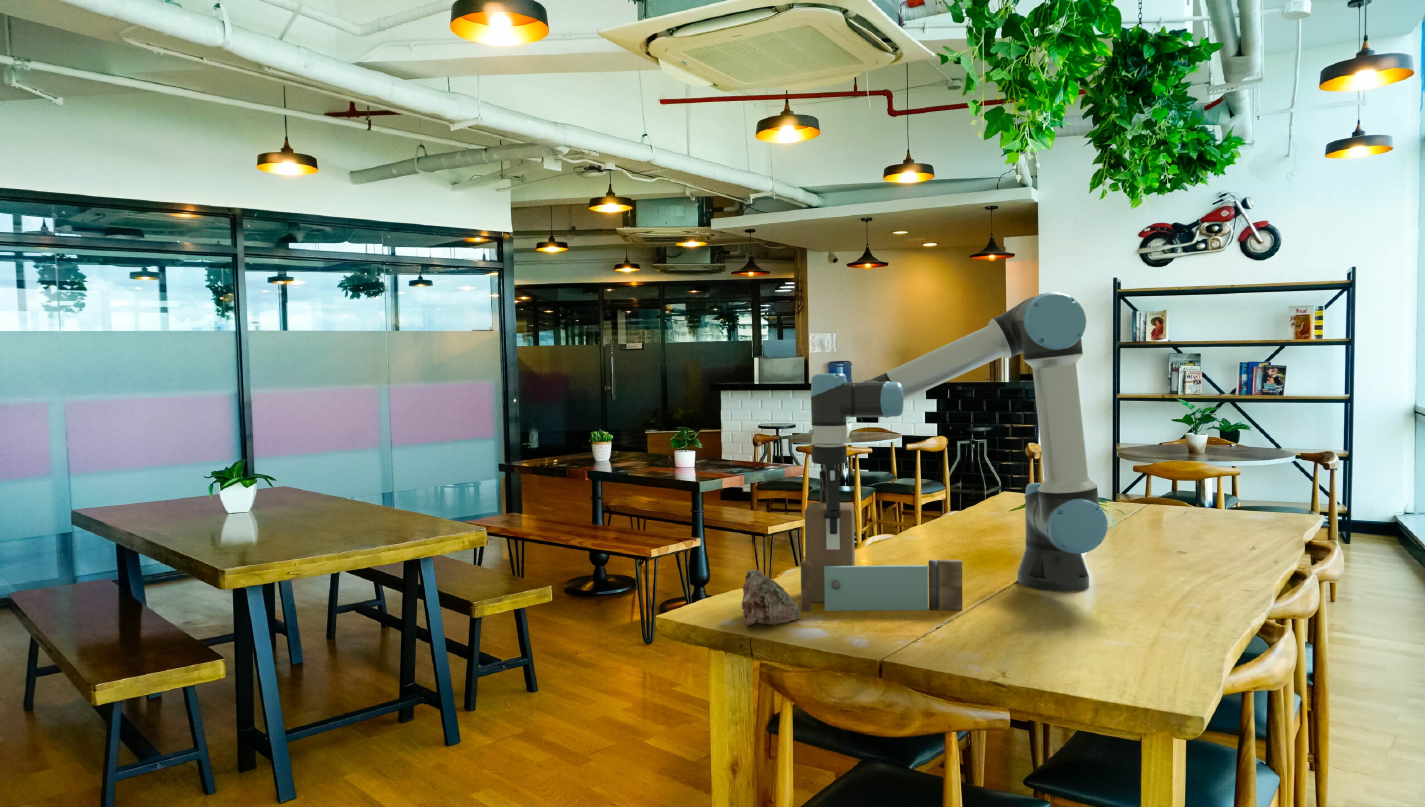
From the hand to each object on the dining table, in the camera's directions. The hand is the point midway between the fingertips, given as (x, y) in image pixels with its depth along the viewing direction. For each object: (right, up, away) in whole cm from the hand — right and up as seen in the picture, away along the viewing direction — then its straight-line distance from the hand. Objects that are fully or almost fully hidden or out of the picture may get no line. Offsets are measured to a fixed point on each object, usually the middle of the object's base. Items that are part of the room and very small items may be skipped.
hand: (829, 542), depth 194 cm
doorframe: (+9, -12, -10) cm, 18 cm away
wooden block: (0, -12, +1) cm, 12 cm away
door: (+8, -12, -10) cm, 18 cm away
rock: (-15, -13, -16) cm, 25 cm away
